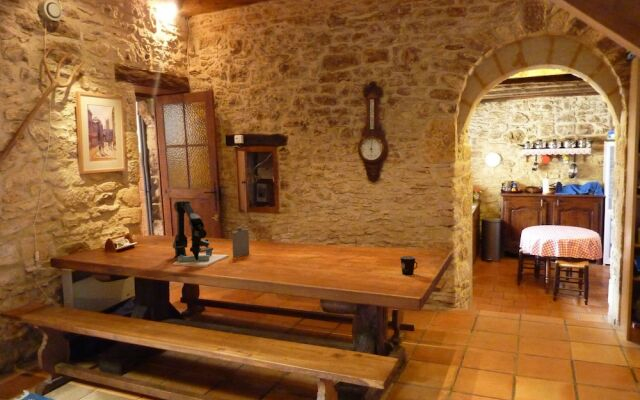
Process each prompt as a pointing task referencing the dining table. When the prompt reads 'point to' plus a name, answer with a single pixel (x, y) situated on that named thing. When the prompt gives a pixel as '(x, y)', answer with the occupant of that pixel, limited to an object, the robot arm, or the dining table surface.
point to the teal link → (193, 258)
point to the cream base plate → (213, 259)
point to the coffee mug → (408, 265)
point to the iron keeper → (207, 251)
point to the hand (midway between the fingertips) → (196, 259)
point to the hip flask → (240, 242)
